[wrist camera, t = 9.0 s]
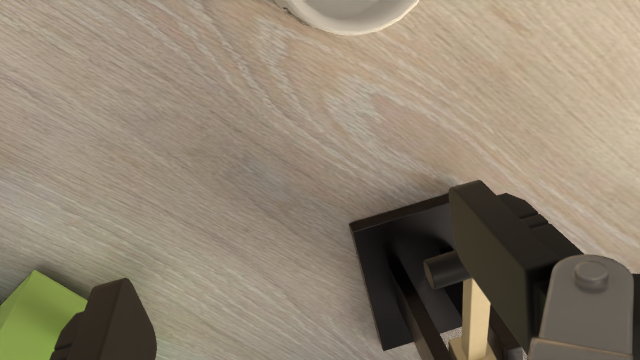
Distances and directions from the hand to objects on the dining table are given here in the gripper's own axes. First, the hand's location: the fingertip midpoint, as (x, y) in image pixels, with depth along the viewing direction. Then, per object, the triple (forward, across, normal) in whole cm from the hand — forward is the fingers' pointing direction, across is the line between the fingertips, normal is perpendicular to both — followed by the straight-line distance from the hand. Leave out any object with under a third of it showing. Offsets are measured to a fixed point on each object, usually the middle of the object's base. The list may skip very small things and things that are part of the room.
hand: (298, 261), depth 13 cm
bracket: (+22, -8, +19) cm, 30 cm away
